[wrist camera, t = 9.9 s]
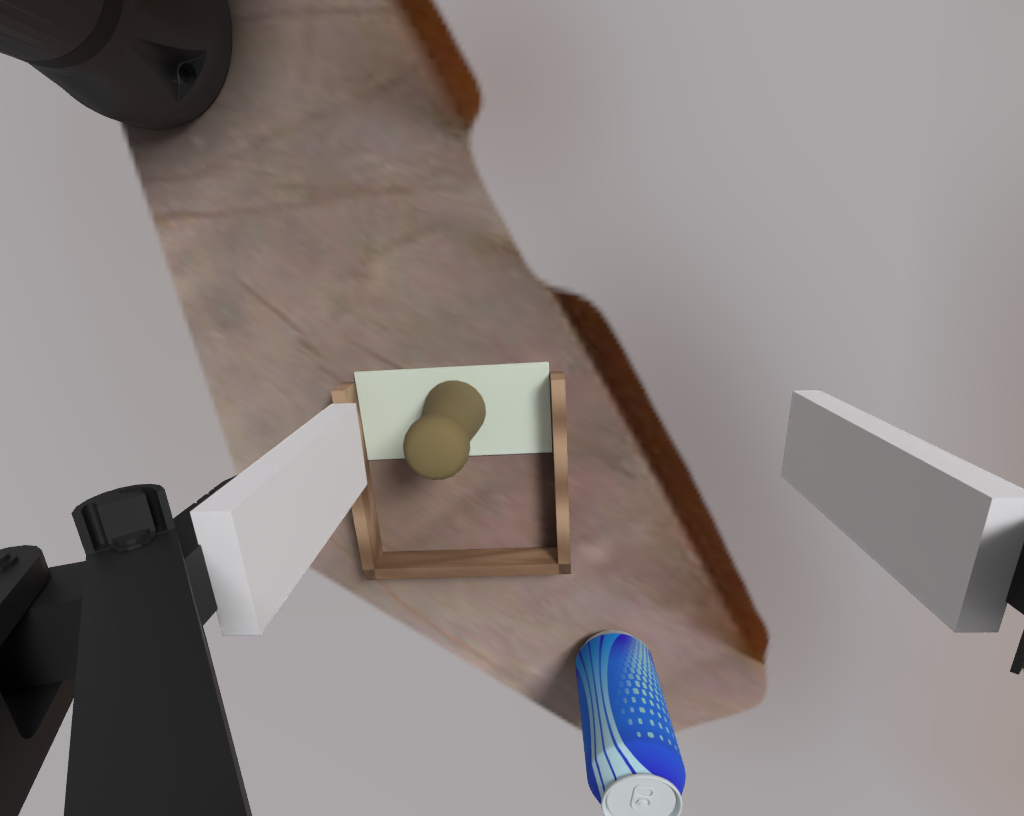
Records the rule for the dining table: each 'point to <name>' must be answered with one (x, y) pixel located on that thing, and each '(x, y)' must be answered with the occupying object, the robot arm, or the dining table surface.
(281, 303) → the dining table surface
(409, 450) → the olive chess pawn
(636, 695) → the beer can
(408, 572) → the bay
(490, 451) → the front pad
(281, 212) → the dining table surface
